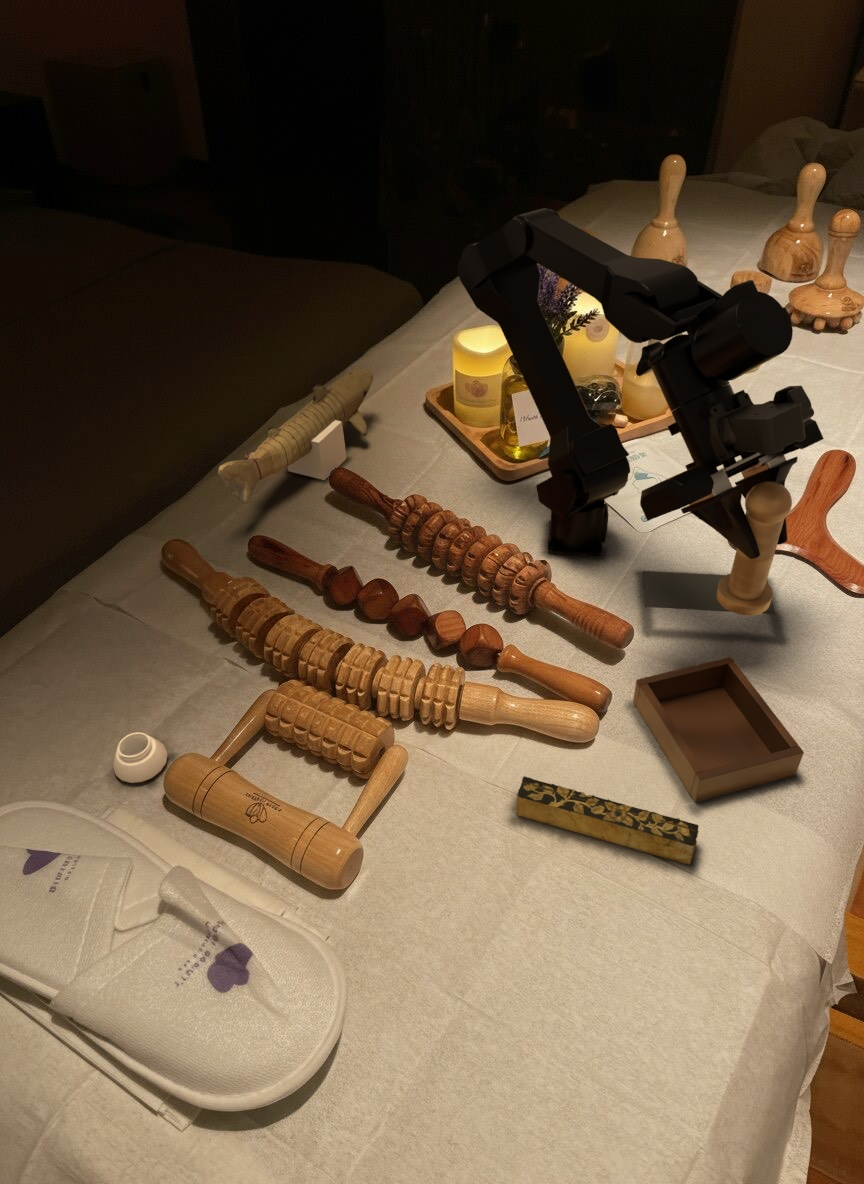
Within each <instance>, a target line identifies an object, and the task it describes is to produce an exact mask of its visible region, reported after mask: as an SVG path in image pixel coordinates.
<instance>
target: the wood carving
mask: <svg viewBox="0 0 864 1184" xmlns="http://www.w3.org/2000/svg"><path fill="white" fill-rule="evenodd" d="M373 381H374V374H373V372H372V371H371V370H370V369H367V368H363V367H359V368H356V369H353V370H351V371H349V372H348V373H346V374H345V375H343V376H341V377H340V378H338V379H337V380H336V381H334V382H332V383H331V384H330V385H328V386H327V387H325V386H324V385H322V384H316V385H315V386H314V387H313V388H312V393H313V396H312V399H311V400H310V402H309V403H306V405H305V406H304V407H302V408H301V409H300V410H299V411H298V412H296V414H294V415H293V416H292V417H291V418H289V419H288V420H287V421H286V422H284V423H283V424H282V425H281V426H279V427H278V428H277V427H274V426H271V427H269V428H267V430H266V431H267V433H268V437H267V438H266V439H264V441H263V442H262V443H260V444H259V445H258V447H257V448H256V450H255V451H254V452H248V455H247V454H245V455H244V457H245V459H238V460H231V461H227V462H225V463H223V464H221V465H220V466H219V468H218V470H217V473H216V474H217V475H218V477H219V479H220V481H221V482H222V484H223V485H224V486H225V487H226V488H227V489H228V490H229V491H230V492H231V494H232V495H233V496H235V497H236V498H237V500H239V501H240V502H241V503H242V504H245V505H247V504H249V501H250V498H251V496H252V495H253V492H254V489H255V488H256V486H257V485H258V483H259V481H261V480H264V479H266V478H268V477H271V476H272V475H275V474H278V473H279V472H281V471H283V470H285V469H286V468H287V471H288V472H291V473H293V474H298V475H303V476H307V477H310V478H313V479H318V480H321V481H325V480H327V478H329V477H330V476H331V474H332V473H331V471H332V470H334V469H335V468H336V469H338V468H339V467H340V466H341V465H342V464H343V463H344V462H345V461H346V460H347V459H348V458H347V451H346V450H347V449H346V443H345V435H344V428H343V427H344V426H343V425H345V424H349V425H351V426H352V427H353V428H355V430H357V431H358V432H359V433H360V434H361V436H363V437H366V436H367V435H368V434H367V433H368V425H367V423H366V421H365V419H364V418H363V416H362V415H361V413H360V411H359V408H360V407H361V406H362V403H363V402H364V400H365V398H366V397H367V394H368V392H369V390H370V388H371V386H372V382H373ZM336 469H335V470H336ZM335 470H334V471H335ZM330 473H331V474H330ZM230 479H232V480H233V482H234V484H235V488H234V489H233V488H232V487H231V483H230Z"/></svg>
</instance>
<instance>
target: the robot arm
mask: <svg viewBox="0 0 864 1184" xmlns="http://www.w3.org/2000/svg"><path fill="white" fill-rule="evenodd" d="M539 265H540V266H542V267H543V268H544V269H547V270H548V271H550V272H551V273H553V274H555V275H557V277H560V278H561V279H563V280H564V281H566V282H568V283H570V285H573V286H574V287H576V288H577V289H579V290H581V291H582V292H583V293H586V294H587V295H589V296H591V297H592V298H594V299H595V300H596V301H597V302H598V303H599V304H601V309H602V312H603V315H604V318H605V320H606V321H607V322H608V323H609V324H610V325H611V326H612V327H614V328H615V329H616V330H617V331H618V332H619V333H620V334H621V335H622V336H623V337H625V338H626V339H627V340H629V341H630V342H632V343H634V344H642V343H646V342H649V341H651V340H655V341H656V342H653V343H650V344H648V345H645V346H643V347H642V348H641V355H640V358H639V360H638V362H637V365H636V369H635V374H636V376H637V377H642V376H645V375H647V374H649V373H653V375H654V377H655V379H656V382H657V384H658V386H659V388H660V391H661V393H662V395H663V397H664V399H665V401H666V404H667V406H668V408H669V410H670V413H671V416H672V418H673V420H674V422H673V423H671V424H669V425H667V426H666V427H667V429H668V431H669V433H670V435H671V437H673V436H675V435H677V434H680V435H681V438H682V439H683V442H684V445H685V446H686V448H687V450H688V452H689V455H690V457H691V459H692V462H690V463H687V464H686V465H685V466H684V467H685V468H686V470H684V471H682V472H679V473H677V474H675V475H672V476H670V477H669V478H666V479H664V480H662V481H660V482H658V483H655V484H653V485H651V486H649V487H646V488H645V489H642V490H641V494H640V501H639V505H640V507H641V510H642V512H643V514H644V517H645V519H646V521H651V520H653V519H655V518H659V517H661V516H664V515H666V514H669V513H671V512H674V511H677V510H679V509H680V511H681V512H682V514H687V513H690V514H691V515H693V516H695V517H696V518H698V519H699V520H700V521H702V522H703V523H705V524H706V525H707V526H708V527H711V528H712V529H713V530H715V532H717V533H718V534H719V535H721V536H722V537H723V538H724V539H725V540H727V541H728V542H729V543H730V544H731V545H733V546H734V547H735V548H736V549H737V548H738V549H739V550H740V551H741V552H742V553H743V554H745V555H746V556H747V557H748V558H749V559H755V558H758V557H759V556H760V552H759V548H758V545H757V542H756V539H755V537H754V534H753V532H752V529H751V527H750V525H749V522H748V520H747V517H746V515H745V514H746V512H745V510H744V508H743V506H742V505H743V504H742V497H743V498H744V500H745V499H746V496H747V494H748V492H749V491H750V490H751V489H752V488H753V487H754V486H755V485H757V484H759V483H761V482H765V481H773V482H777V483H780V484H782V485H783V486H784V487H785V486H786V485H785V484H786V479H787V477H788V475H789V473H790V471H791V469H792V467H793V465H794V464H796V463H798V461H799V460H798V456H794V457H792V458H789V459H786V456H785V455H787V454H790V453H792V452H795V451H798V450H804V449H806V448H808V447H810V446H812V445H814V444H816V443H819V442H821V441H823V440H824V435H823V434H822V431H821V430H820V428H819V425H818V423H817V420H814V419H812V418H813V417H814V416H815V410H814V408H813V407H812V402H811V400H810V398H809V396H808V394H807V393H806V390H805V389H804V387H803V386H802V385H789V386H786V387H784V388H782V389H779V390H777V391H776V392H775V393H774V396H773V399H772V400H768V401H765V402H764V403H755V404H754V402H753V400H752V399H751V397H750V394H749V393H747V392H745V390H744V389H742V390H739V391H737V392H734V389H733V387H732V385H731V384H730V381H734V380H737V379H738V378H740V377H742V376H744V375H746V374H748V373H749V372H751V371H753V370H754V369H756V368H758V367H761V366H762V365H764V364H766V363H767V362H769V361H771V360H773V359H775V358H777V357H778V356H781V355H782V354H784V353H785V352H786V351H788V349H789V347H790V345H791V343H792V340H793V332H794V329H793V322H792V319H791V316H790V313H789V312H788V310H787V308H786V307H783V306H782V304H781V303H780V302H779V301H778V300H777V299H776V298H774V296H772V295H770V294H769V293H765V292H762V291H759V290H758V289H757V286H756V283H755V281H754V280H752V279H748V280H746V281H743V282H740V283H738V284H735V285H733V286H732V287H731V288H729V289H728V290H726V291H725V292H724V294H721V293H720V292H717V291H716V290H714V289H713V288H711V287H710V286H707V285H706V284H705V283H703V282H702V281H700V280H698V279H699V278H698V276H697V275H696V274H695V273H694V271H692V270H691V269H690V268H689V267H687V266H685V265H683V264H679V263H677V262H672V261H668V260H665V259H661V258H650V257H636V256H632V255H628V254H626V253H624V252H623V251H621V250H619V249H618V248H616V247H614V246H612V245H610V244H608V243H607V242H606V241H602V239H599V238H598V237H595V236H594V235H593V234H590V233H589V232H587V231H585V230H583V229H581V228H580V227H577V226H576V225H574V224H573V223H571V222H568V221H567V220H565V219H563V218H561V217H560V215H559V213H558V212H557V211H556V210H555V209H551V208H546V207H543V208H539V209H535V210H532V211H529V212H524V213H521V214H517V215H515V216H513V218H511V220H509V221H507V223H505V224H504V225H503V226H502V227H501V228H500V229H497V231H495V232H493V233H492V234H490V235H488V236H487V237H485V238H484V239H482V240H480V241H478V242H475V243H471V244H468V245H467V246H465V248H464V249H463V251H462V253H461V258H460V259H459V261H458V264H457V274H458V277H459V281H460V282H461V284H462V286H463V287H464V289H465V291H466V293H467V294H468V296H469V297H470V299H471V301H472V303H473V304H474V306H475V308H476V309H478V310H479V311H480V312H482V313H483V314H485V315H486V316H488V318H490V319H492V320H493V321H495V322H496V323H497V324H498V325H499V327H500V330H501V332H502V334H503V336H504V338H505V340H506V343H507V345H508V347H509V349H510V352H511V353H512V356H513V358H514V360H515V362H516V365H517V367H518V370H519V372H520V374H521V375H522V378H523V380H524V382H525V385H526V386H527V389H528V391H529V394H530V396H531V397H532V401H533V402H534V404H535V406H536V408H537V410H538V413H539V415H540V417H541V420H542V421H543V424H544V426H545V428H546V430H547V433H548V435H549V446H548V448H549V449H548V456H547V466H548V469H549V473H550V475H551V476H550V477H549V478H547V479H545V480H543V481H541V482H540V483H538V484H536V485H535V488H536V494H537V499H538V503H540V504H541V505H543V506H544V507H545V508H547V509H548V510H549V511H550V517H549V518H550V519H549V521H548V538H547V553H548V554H553V555H571V556H574V555H575V556H592V557H594V556H595V557H599V556H601V555H602V553H603V545H602V544H605V543H606V542H607V534H608V527H609V516H610V515H609V504H608V503H607V502H606V501H605V500H607V499H608V498H610V497H615V496H617V495H618V494H619V492H620V490H622V489H623V488H625V487H626V485H627V483H628V481H629V475H630V473H631V465H630V462H629V458H628V457H629V456H630V453H629V451H627V449H626V447H624V444H623V443H622V441H621V438H620V436H619V432H618V429H617V428H616V427H615V426H614V424H612V423H609V424H607V425H604V426H603V425H602V424H600V423H599V422H598V421H596V420H594V419H593V418H592V417H591V415H590V414H589V412H588V409H587V407H586V405H585V403H584V400H583V398H582V396H581V394H580V392H579V390H578V388H577V387H578V386H577V385H576V383H575V381H574V379H573V376H572V374H571V372H570V370H569V368H568V366H567V364H566V361H565V359H564V357H563V354H562V352H561V350H560V347H559V346H558V344H557V341H556V339H555V336H554V335H553V332H552V329H551V328H550V326H549V324H548V321H547V319H546V316H545V315H544V313H543V311H542V308H541V306H540V303H539V295H540V286H541V278H542V277H541V271H540V268H539ZM683 333H684V334H683ZM685 333H686V334H685ZM667 339H669V340H667ZM666 340H667V341H666ZM663 341H666V342H664V343H662V342H663ZM739 457H740V459H738V460H736V458H739ZM720 466H722V467H721V468H719V469H718V467H720ZM740 473H741V475H742V477H743V478H742V479H740V480H739V479H738V480H737V481H735V483H734V485H735V486H733V485H732V483H731V481H730V478H732V477H734V476H736V475H738V474H740ZM605 502H606V503H605ZM787 542H788V529H787V517H786V518H785V519H784V522H783V526H782V529H781V533H780V536H779V540H778V543H777V546H779V545H782V544H785V543H787Z"/></svg>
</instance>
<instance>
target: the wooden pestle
mask: <svg viewBox="0 0 864 1184" xmlns="http://www.w3.org/2000/svg"><path fill="white" fill-rule="evenodd" d="M744 507H745V515H746V517H747V520H748V522H749V525H750V527H751V529H752V532H753V534H754V537H755V539H756V542H757V545H758V548H759V552H760V556H759V557H758V558H755V559H749V558H748V557H747V556H746V555H745V554H743V553H742V552H741V551H740V550H739V549H738V548H736V550H735V554H734V559H733V562H732V567H731V571H730V573H728V574H724V575H725V576H724V577H723V578H721V580H720V581H719V583H718V587H717V591H716V597H717V600H718V602H719V603H720V604H721V605H722V606H723V607H724V608H725V609H727V610H729V611H731V612H730V613H732V614H735V615H739V616H747V617H749V616H751V617H752V616H757V615H761V613H763V612H765V611H766V610H767V609H768V608H769V606H770V603H771V600H772V601H773V596H774V595H773V594H774V592H773V588H772V587H771V585H770V584H769V582H768V583H767V580H768V577H769V574H770V571H771V567H772V564H773V560H774V557H775V554H776V550H777V546H778V544H777V543H778V540H779V536H780V533H781V529H782V526H783V522H784V519H785V518H786V519H787V517H788V516H789V514H790V513H791V510H792V507H793V497H792V494H791V492H790V491H789V490H788V488H787V487H784V486H783V485H782V484H780V483H777V482H773V481H765V482H761V483H759V484H757V485H755V486H754V487H753V488H752V489H751V490H750V491H749V492H748V494H747V496H746V499H745V498H744Z"/></svg>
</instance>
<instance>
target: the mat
mask: <svg viewBox="0 0 864 1184" xmlns="http://www.w3.org/2000/svg"><path fill="white" fill-rule="evenodd" d="M725 575H726V574H715V573H714V574H711V573H696V572H695V573H694V572H676V571H675V572H674V571H656V570H655V571H654V570H643V571H642V584H643V596H644V597H643V598H644V607H645V608H654V609H671V610H673V609H674V610H689V611H690V610H692V611H710V612H725V613H726V612H727V613H732V612H731V611H729V610H727V609H725V608H724V607H723V606H722V605H721V604H720V603H719V602H718V600H717V597H716V591H717V587H718V583H719V581H720V580H721V578H723V577H724V576H725ZM767 583H768V584H769V581H768V579H767ZM775 609H776V608H775V606H774V602H773V599H772V600H771V603H770V606H769V608H768V609H767V610H766V611H765V612H763V613H761V614H762V615H763V614H764V615H776V610H775ZM761 614H760V615H761Z"/></svg>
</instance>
